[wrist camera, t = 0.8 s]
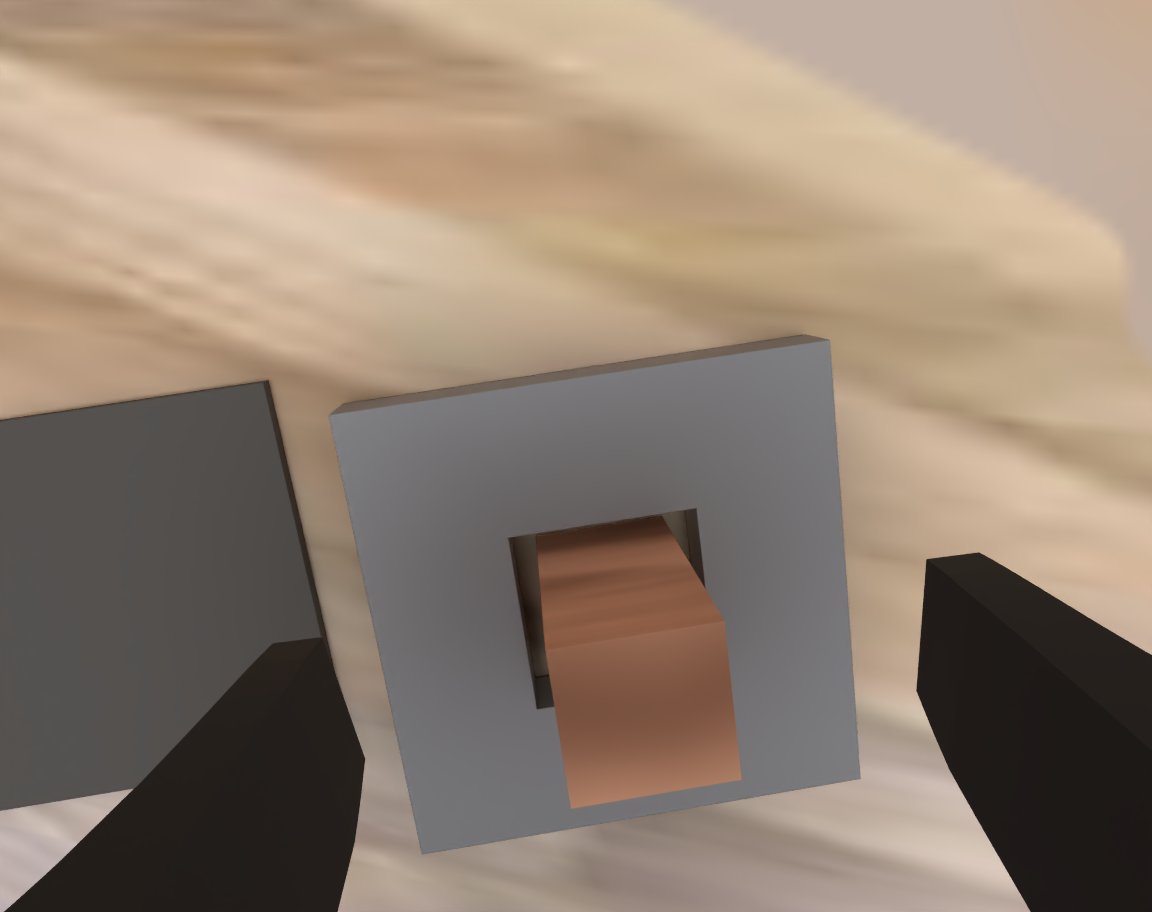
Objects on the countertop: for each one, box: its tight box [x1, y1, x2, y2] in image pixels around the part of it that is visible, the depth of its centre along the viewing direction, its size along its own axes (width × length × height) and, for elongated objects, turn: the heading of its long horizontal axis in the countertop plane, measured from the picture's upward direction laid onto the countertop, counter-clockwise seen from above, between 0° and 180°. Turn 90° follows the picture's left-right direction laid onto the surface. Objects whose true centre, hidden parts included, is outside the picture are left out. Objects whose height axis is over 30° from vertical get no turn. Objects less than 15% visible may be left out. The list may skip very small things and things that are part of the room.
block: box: [536, 516, 742, 809], centre depth 23 cm, size 4×4×8 cm
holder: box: [329, 335, 860, 854], centre depth 25 cm, size 14×14×2 cm
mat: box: [0, 381, 333, 811], centre depth 25 cm, size 12×12×1 cm
